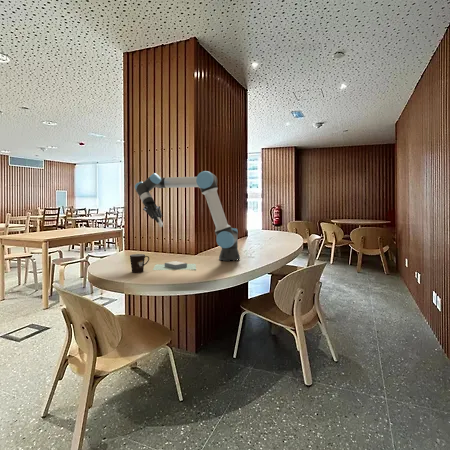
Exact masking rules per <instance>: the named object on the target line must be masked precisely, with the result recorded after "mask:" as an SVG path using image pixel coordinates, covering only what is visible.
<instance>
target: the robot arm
mask: <svg viewBox="0 0 450 450" xmlns="http://www.w3.org/2000/svg"><path fill="white" fill-rule="evenodd" d="M154 188H158V189H167V188H168V189H169V188H171V189H172V188H173V189H175V188H176V189H177V188H199V189H200V192H201V194H202V195H204V197H205V199H206V202H207V206H208V209H209V212H210V215H211V218H212V220H213V224H214V226H215V230H214V233H215V236H216V241H215V242H216V244H217V245H218V246H219V247H220V248H221V250H220V253H219V256H218V260H219V261H221V260H223V262H231V261H230V260H237V259H240V260H241V256H240V253H239V250H238V247H239V244H238V243H239V241H238V240H239V238H238V236H239V231H238V228H234V227H232V226H231V225H230V224H228V220H227V218H226V215H225V212H224V208H223V206H222V202H221V200H220V197H219V194H218V189H219V188H218V177H217V176H216V175H215V174H214V173H212V172H211V171H208V170H203V171H201V172H199V173H198V174H197V176H181V177H180V176H179V177H161V176H160V175H159V174H157V173H156V172H154V173H152V174H151V175H150V176H148V177H147V178H146V179H145V180H144V181H139V182H136V183H135V185H134V189H135V192H136V193H137V195H138V196H139V198H140V200H141V202H142V204H143V206H144V207H143V208H142V210H143V211H144V212H145V213H146V214H147V215H148V216H149V217H150V218H151V220H154V221H156V223H157V224H158V226H159V228H163V226H164V223H163V220H162V217H163V214H162V210H161V206H157V205H158V204H156V203H155V200H154V198H153V197H152V194H151V192H150V191H152V190H153V189H154Z"/></svg>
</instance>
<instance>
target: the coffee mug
mask: <svg viewBox="0 0 450 450" xmlns="http://www.w3.org/2000/svg"><path fill="white" fill-rule="evenodd" d="M146 258H147V261H146V262H145V260H146ZM129 260H130V266H131V267H130V268H131V273H133V274H141V273H144V267H145V265H147V264H148V263H149V261H150V256H148V255H146V254H145V253H144V254H143V253H134V254H129Z"/></svg>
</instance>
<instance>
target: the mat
mask: <svg viewBox="0 0 450 450" xmlns="http://www.w3.org/2000/svg"><path fill="white" fill-rule="evenodd" d="M175 270H178V271H179V270H181V271H183V270H185V271H186V270H188V271H191V270H192V271H197V265H196V263H187V267H186V268H181V269H171V268H167V267H165V263H163V264H160V263H159V264H155V265H154V266H153V268H152V271H175Z"/></svg>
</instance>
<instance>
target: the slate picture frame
mask: <svg viewBox="0 0 450 450" xmlns="http://www.w3.org/2000/svg"><path fill="white" fill-rule="evenodd" d="M164 264H165V267H167V268H171V269H181V268H186V267H187V264H188V263H187V262H182V261H179V260H178V261H176V260H173V261H168V262H164Z"/></svg>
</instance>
